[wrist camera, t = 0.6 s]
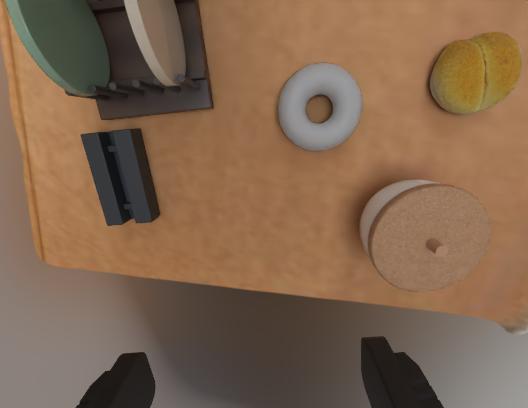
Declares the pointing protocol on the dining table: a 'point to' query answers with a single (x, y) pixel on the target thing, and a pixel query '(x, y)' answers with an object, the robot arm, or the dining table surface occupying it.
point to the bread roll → (476, 73)
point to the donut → (326, 83)
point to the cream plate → (159, 37)
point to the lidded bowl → (424, 234)
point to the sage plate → (63, 41)
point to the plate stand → (121, 176)
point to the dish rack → (139, 73)
